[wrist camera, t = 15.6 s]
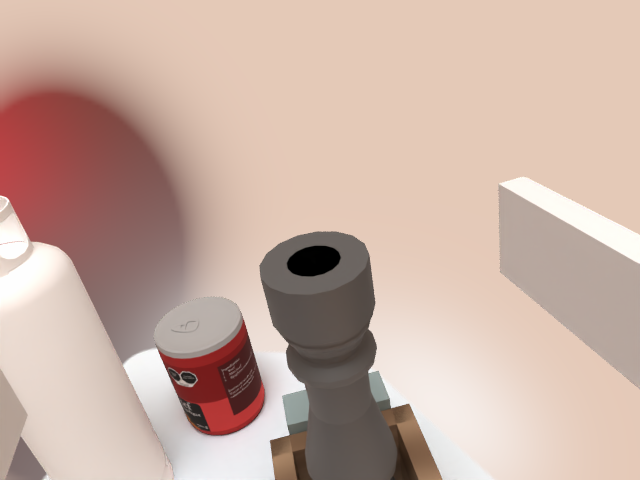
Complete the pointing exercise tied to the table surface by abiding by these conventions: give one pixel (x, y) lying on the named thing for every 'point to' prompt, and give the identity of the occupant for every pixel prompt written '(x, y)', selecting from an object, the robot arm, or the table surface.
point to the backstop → (299, 404)
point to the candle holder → (331, 351)
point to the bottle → (68, 369)
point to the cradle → (412, 450)
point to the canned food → (211, 364)
